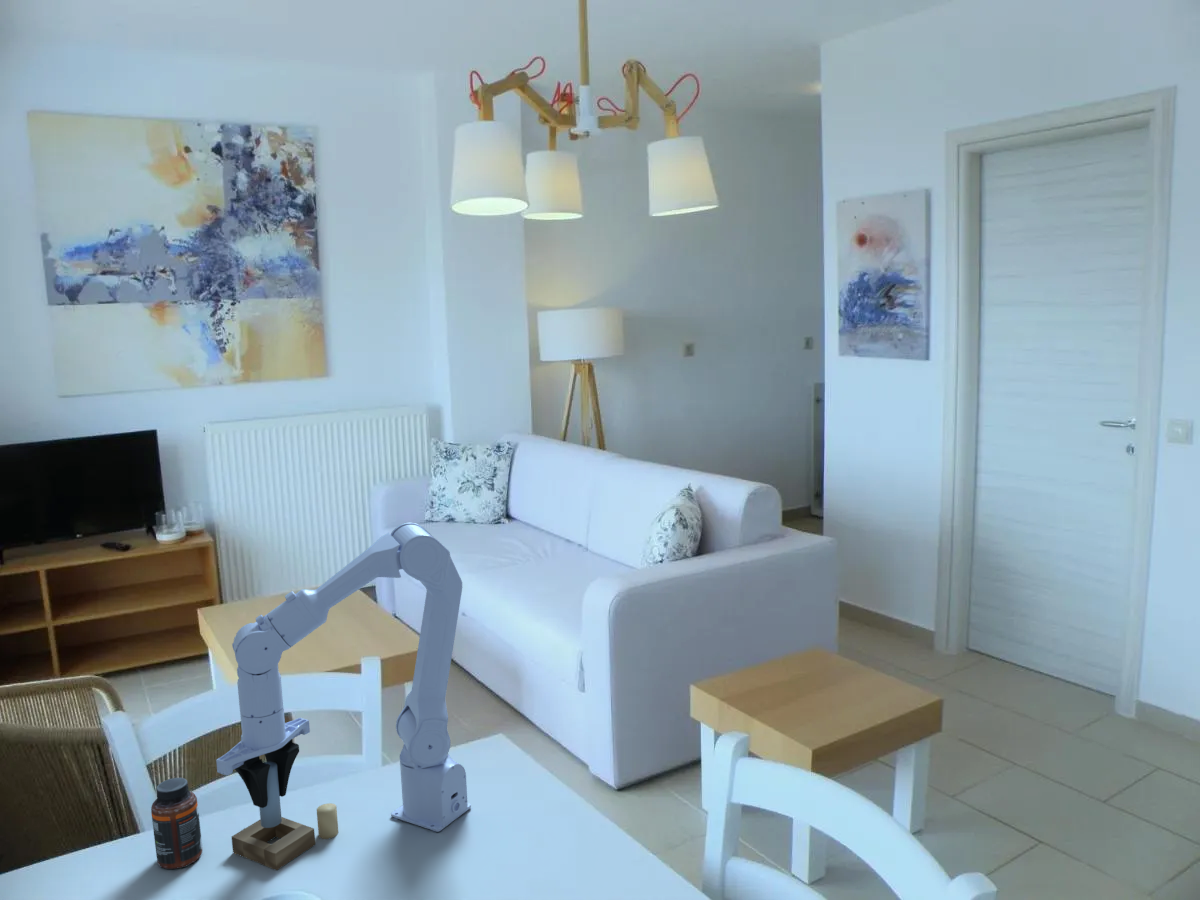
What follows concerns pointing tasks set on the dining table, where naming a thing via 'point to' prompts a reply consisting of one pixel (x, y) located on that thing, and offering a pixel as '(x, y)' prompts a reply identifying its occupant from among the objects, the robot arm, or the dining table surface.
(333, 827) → the short dowel
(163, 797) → the supplement bottle
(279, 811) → the long dowel
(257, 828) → the block with square hole
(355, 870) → the dining table surface
